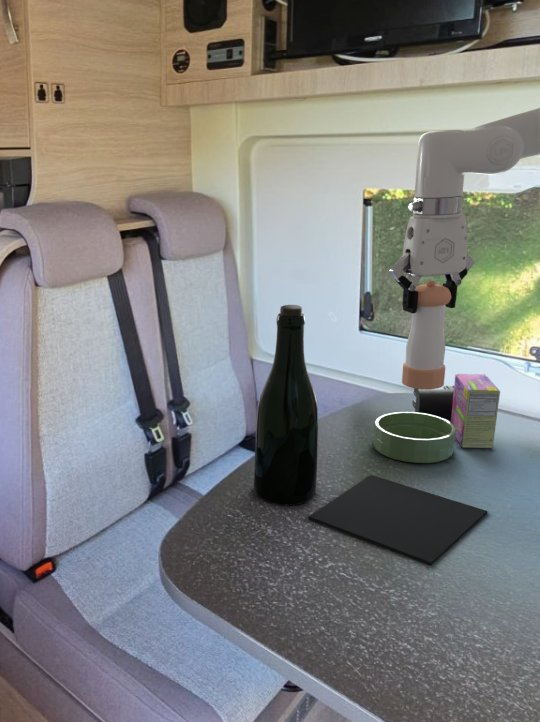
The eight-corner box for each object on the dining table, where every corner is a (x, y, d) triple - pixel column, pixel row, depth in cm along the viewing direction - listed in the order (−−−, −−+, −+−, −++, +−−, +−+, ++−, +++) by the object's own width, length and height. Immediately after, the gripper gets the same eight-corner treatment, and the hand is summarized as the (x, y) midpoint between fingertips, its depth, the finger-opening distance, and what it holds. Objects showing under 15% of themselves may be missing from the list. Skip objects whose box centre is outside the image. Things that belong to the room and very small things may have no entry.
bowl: (465, 447, 138) (468, 423, 137) (432, 471, 129) (435, 446, 128) (395, 429, 148) (397, 406, 146) (359, 451, 139) (361, 427, 138)
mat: (487, 513, 115) (487, 510, 115) (431, 565, 102) (431, 562, 102) (370, 477, 129) (371, 474, 128) (308, 518, 116) (308, 516, 116)
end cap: (417, 425, 150) (420, 394, 147) (409, 412, 156) (412, 383, 154) (468, 425, 148) (472, 394, 146) (458, 412, 155) (461, 383, 152)
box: (448, 427, 148) (455, 373, 144) (478, 428, 146) (486, 373, 142) (460, 448, 138) (467, 390, 134) (492, 449, 137) (501, 391, 133)
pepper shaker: (440, 377, 136) (449, 276, 130) (447, 389, 130) (457, 284, 123) (399, 376, 138) (406, 277, 132) (404, 389, 131) (412, 285, 125)
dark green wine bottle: (315, 481, 128) (325, 298, 117) (315, 509, 119) (326, 314, 107) (256, 477, 131) (259, 298, 119) (251, 504, 121) (255, 313, 110)
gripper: (404, 213, 118) (397, 319, 124) (496, 204, 121) (485, 307, 127) (379, 210, 125) (373, 310, 131) (466, 201, 128) (457, 299, 134)
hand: (428, 308), depth 129 cm, fingers closed on pepper shaker, 7 cm apart
